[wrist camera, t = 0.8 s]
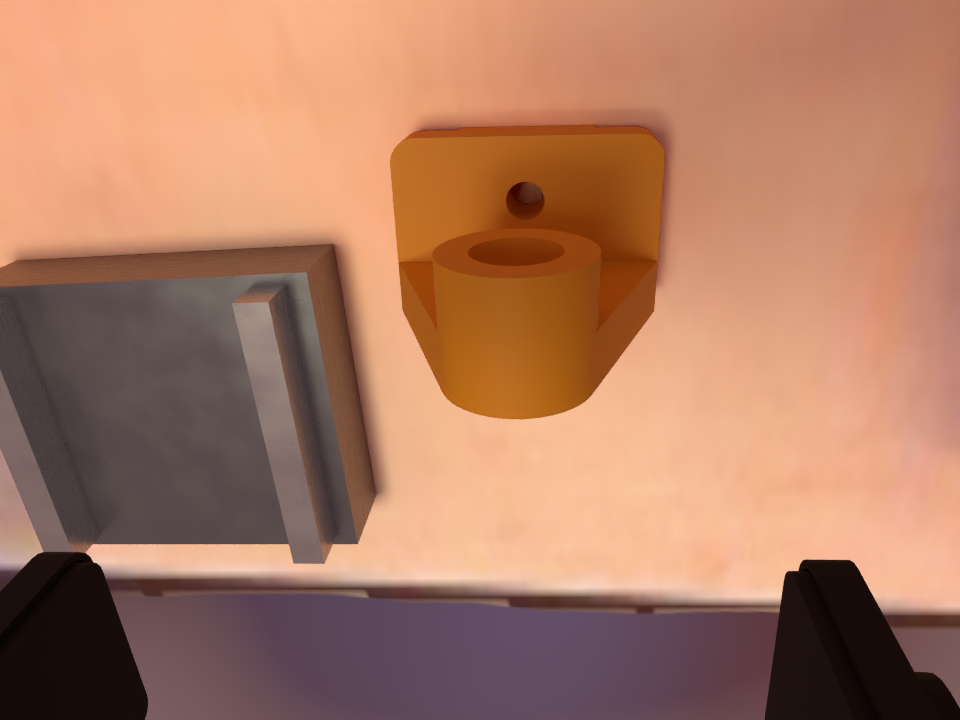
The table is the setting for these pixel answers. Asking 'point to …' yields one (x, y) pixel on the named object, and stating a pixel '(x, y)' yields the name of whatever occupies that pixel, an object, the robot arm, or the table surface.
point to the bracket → (526, 258)
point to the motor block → (184, 400)
